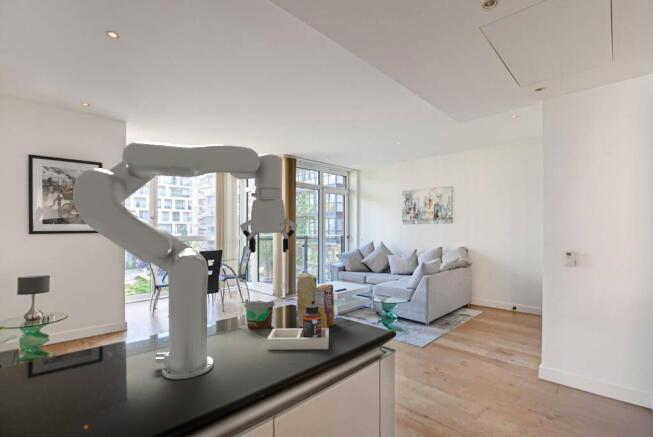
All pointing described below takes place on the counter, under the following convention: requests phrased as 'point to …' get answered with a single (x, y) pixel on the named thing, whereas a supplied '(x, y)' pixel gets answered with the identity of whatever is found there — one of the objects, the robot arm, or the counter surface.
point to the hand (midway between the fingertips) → (269, 252)
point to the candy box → (325, 304)
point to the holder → (296, 339)
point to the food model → (305, 294)
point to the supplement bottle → (312, 322)
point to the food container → (259, 314)
